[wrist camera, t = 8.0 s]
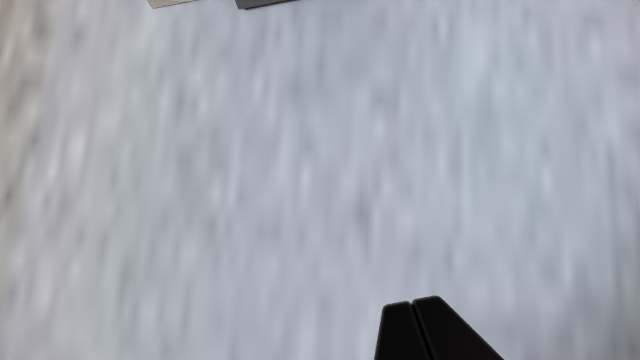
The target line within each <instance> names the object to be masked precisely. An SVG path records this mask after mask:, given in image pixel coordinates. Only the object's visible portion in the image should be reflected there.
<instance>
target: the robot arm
mask: <svg viewBox="0 0 640 360" xmlns="http://www.w3.org/2000/svg"><path fill="white" fill-rule="evenodd" d="M374 360H504V359H503V358H502V357H501V356H500V355H499V354H498V353H497V352H496V351H495V350H494V349H493V348H492V347H491V346H490V345H489V344H488V343H487V342H486V341H485V340H484V339H483V338H482V337H481V336H480V335H479V334H478V333H477V332H476V331H475V330H474V329H473V328H471V327H470V326H469V325H468V324H467V323H466V322H465V321H464V320H463V319H462V318H461V317H460V316H459V315H458V314H457V313H456V312H455V311H454V310H453V309H452V308H451V307H450V306H449V305H448V304H447V303H446V302H445V301H444V300H443V299H442V298H441V297H439V296H429V297H424V298H419V299H415V300H413V301H412V303H410V302H408V301H403V302H398V303H392V304H387V305H385V306H384V307H383V310H382V315H381V321H380V327H379V333H378V339H377V345H376V351H375V357H374Z"/></svg>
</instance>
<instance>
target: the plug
mask: <svg viewBox="0 0 640 360" xmlns="http://www.w3.org/2000/svg"><path fill="white" fill-rule="evenodd" d="M235 1H236V4H237V7H238V9H244V8H249V7H254V6H259V5H265V4H270V3H275V2H280V1H285V0H235Z"/></svg>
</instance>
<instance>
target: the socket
mask: <svg viewBox="0 0 640 360" xmlns="http://www.w3.org/2000/svg"><path fill="white" fill-rule="evenodd" d="M147 1H148V3H149V4H150V6H151V7H152V8H157V7H162V6H168V5H173V4H178V3H183V2H188V1H194V0H147Z"/></svg>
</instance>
